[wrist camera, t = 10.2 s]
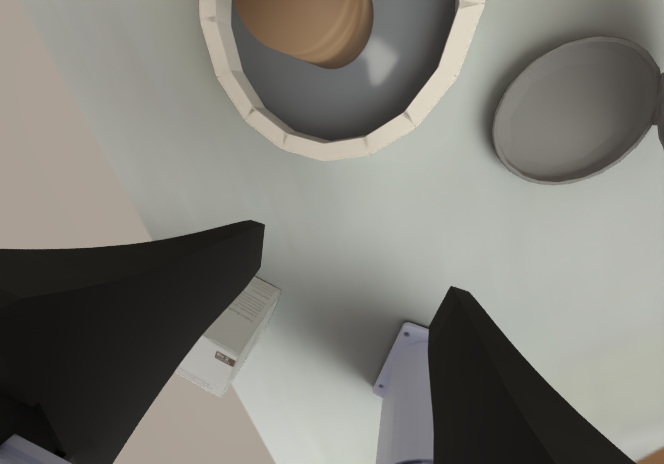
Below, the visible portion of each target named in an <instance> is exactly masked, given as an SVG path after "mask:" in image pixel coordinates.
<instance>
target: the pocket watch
mask: <svg viewBox="0 0 664 464" xmlns="http://www.w3.org/2000/svg"><path fill="white" fill-rule="evenodd" d="M652 125H657V126H658V135H659V139H660V142H661V144H662V146H663V149H664V73H661V74H660V69H659V67H658V66H657V64H656V63H655V61H654V60H653V58H652V57H651V55H650V54H649V52H648V51H646V50H645V49H643V48H642V47H640V46H639V45H637V44H635V43H633V42H630V41H628V40H625V39H622V38H614V37H606V36H598V37H591V38H584V39H578V40H575V41H571V42H568V43H565V44H563V45H562V46H560V47H558V48H556V49H554V50H551V51H549V52H548V53H546V54H544V55H542V56H541V57H539V58H537V59H535V60H534V61H533V62H532V63H531V64H529V65H528V66H527V67H526V68H525V69H524V70H523V71H522V72H521V73H520V74H519V75H518V76H517V77H516V78H515V79H514V80H513V81H512V82H511V84H510V85H509V86H508V88H507V90H506V92H505V93H504V95H503V96H502V98H501V100H500V102H499V104H498V107H497V109H496V111H495V116H494V121H493V129H492V138H493V143H494V147H495V150H496V154H497V156H498V157H499V159H500V160H501V162H502V163H503V164H504V165H505V166H506V167H507V169H508V170H509V171H510V172H512V173H513V174H515V175H517V176H518V177H520V178H522V179H524V180H526V181H529V182H533V183H537V184H544V185H561V184H570V183H575V182H578V181H581V180H585V179H588V178H591V177H593V176H596V175H598V174H601V173H602V172H604V171H606V170H607V169H609V168H611V167H612V166H614V165H616V164H617V163H619V162H620V161H621V160H622V159H624V158H625V157H626V156H627V155H628V154H629V153H630V152H631V151H633V150H634V149H635V148H636V147H637V146H638V145H639V143H640V142H641V141H642V139H643V138H644V136H645V135H646V134H647V132H648V131H649V129H650V128H651V126H652Z"/></svg>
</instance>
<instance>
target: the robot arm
mask: <svg viewBox="0 0 664 464" xmlns="http://www.w3.org/2000/svg"><path fill="white" fill-rule="evenodd" d="M264 229H265V224H262V223H259V222H255V221H252V220H247V221H242V222H238V223H233V224H229V225H225V226H221V227H218V228H214V229H210V230H206V231H202V232H197V233H193V234H188V235H183V236H179V237H174V238H169V239H164V240H158V241H151V242H144V243H137V244H129V245H117V246H106V247H94V248H75V249H26V250H25V249H0V464H113V462H114V460H115V459H116V457H117V456H118V454H119V453H120V451H121V450H122V448H123V447H124V445H125V443H126V442H127V440H128V439H129V437H130V436H131V434H132V433H133V431H134V430H135V428H136V426H137V425H138V423H139V422H140V420H141V419H142V417H143V416H144V414H145V413H146V411H147V410H148V409H149V407H150V406H151V404H152V403H153V401H154V400H155V398H156V397H157V396H158V394H159V392H160V391H161V390H162V388H163V387H164V385H165V384H166V383H167V381H168V380H169V378H170V377H171V376H172V374H173V373H174V372H175V370H176V369H177V368H178V366H179V365H180V363H181V362H182V361H183V359H184V358H185V357H186V355H187V354H188V353H189V351H190V350H191V349H192V348H193V346H194V345H195V344H196V342H197V341H198V340H199V338H200V337H201V336H202V335H203V334H204V333H205V331H206V330H207V329H208V328H209V327H210V326H211V325H212V324H213V323H214V322H215V320H216V319H217V318H218V317H219V316H220V315H221V314H222V313H223V312H224V311H225V310H226V309H227V308H228V307H229V305H230V304H231V303H232V302H233V301H234V300H235V299H236V298H237V297H238V296H239V295H240V294H241V292H242V291H243V290H244V289H245V288H246V287H247V286H248V284H249V283H250V282H251V280H252V279H253V277H254V276H255V274H256V273H257V271H258V270H259V268H260V267H261V258H262V248H263V238H264ZM405 332H408V334H406V333H405ZM373 393H374V394H375V395H377V396H379V397H382V398H383V399H382V409H381V418H380V428H379V437H378V447H377V456H376V464H636V463H635V462H634V461H632V460H631V459H630V458H629V457H628V456H627V455H625V454H624V453H623V452H622V451H621V450H620V449H618V448H617V447H616V446H615V445H614V444H613V443H612V442H610V441H609V440H608V439H607V438H606V437H605V436H604V435H603V434H601V433H600V432H599V431H598V430H597V429H596V428H595V427H593V426H592V425H591V424H590V423H589V422H588V421H587V420H586V419H585V418H584V417H582V416H581V415H580V414H579V413H578V412H577V411H576V410H575V409H574V408H573V407H572V406H571V405H570V404H569V403H568V402H567V401H566V400H565V399H564V398H563V397H562V396H561V395H560V394H559V393H558V392H557V391H555V390H554V389H553V388H552V387H551V386H550V385H549V384H548V383H547V382H546V381H545V379H544V378H543V377H542V376H541V375H540V374H539V373H538V372H537V371H536V370H535V369H534V368H533V367H532V366H531V365H530V363H529V362H528V361H527V360H526V359H525V358H524V357H523V356H522V355H521V353H520V352H519V351H518V350H517V349H516V348H515V347H514V345H513V344H512V343H511V342H510V341H509V340H508V338H507V337H506V336H505V335H504V334H503V332H502V331H501V330H500V329H499V328H498V326H497V325H496V324H495V323H494V321H493V320H492V319H491V318H490V316H489V315H488V314H487V313H486V311H485V310H484V309H483V308H482V306H481V305H480V304H479V303H478V302H477V300H476V299H475V298H474V297H473V296H472V295H471V294H470V293H469V292H468V291H465V290H462V289H459V288H456V287H453V286H450V288H449V290H448V292H447V294H446V296H445V298H444V300H443V301H442V303H441V305H440V307H439V309H438V311H437V313H436V314H435V316H434V318H433V320H432V322H431V324H430V326H429V329H427V328H424V327H421V326H418V325H415V324H412V323H409V322H408V323H404V324H403V326H402V328H401V330H400V332H399V334H398V336H397V338H396V340H395V343H394V345H393V347H392V349H391V351H390V353H389V355H388V357H387V360H386V362H385V364H384V366H383V368H382V370H381V372H380V375H379V377H378V379H377V381H376V383H375V385H374V388H373Z"/></svg>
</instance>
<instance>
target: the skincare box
mask: <svg viewBox="0 0 664 464" xmlns="http://www.w3.org/2000/svg"><path fill="white" fill-rule="evenodd" d="M280 294H281V290H279V289H278V288H276V287H274V286H272V285H270V284H268V283H266V282H264V281H262V280H260V279H258V278H256V277H253V279H252V280H251V282H250V283H249V284H248V286H247V287H246V288H245V289H244V290H243V291H242V292H241V294H240V295H239V296H238V297H237V298H236V299H235V300H234V301H233V302H232V303H231V304H230V305H229V307H228V308H227V309H226V310H225V311H224V312H223V313H222V314H221V315H220V316H219V317H218V318H217V319H216V320H215V322H214V323H213V324H212V325H211V326H210V327H209V328H208V329H207V330H206V331H205V333H204V334H203V335H202V336H201V337H200V338H199V340H198V341H197V342H196V344H195V345H194V346H193V348H192V349H191V350H190V351H189V353H188V354H187V355H186V357H185V358H184V359H183V361H182V362H181V363H180V365H179V366H178V368H177V369H176V370H175V373H177V374H179V375H181V376H182V377H184V378H186V379H188V380H189V381H191V382H193V383H194V384H196V385H198V386H200V387H202V388H203V389H205V390H207V391H208V392H210V393H212V394H213V395H215V396H217V397H219V398H221V397H222V396H223V395H224V393H225V391H226V390H227V389H228V387H229V385H230V384H231V382H232V381H233V379H234V378H235V376H236V375H237V373H238V371H239V370H240V368H241V367H242V365H243V364H244V362H245V360H246V359H247V357H248V356H249V354H250V353H251V351H252V349H253V348H254V346H255V345H256V343H257V342H258V340H259V339H260V337H261V336H262V334H263V332H264V331H265V328H266V326H267V324H268V322H269V319H270V317H271V315H272V312H273V310H274V308H275V305H276V303H277V301H278V298H279V296H280Z"/></svg>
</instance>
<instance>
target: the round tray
mask: <svg viewBox="0 0 664 464" xmlns="http://www.w3.org/2000/svg"><path fill="white" fill-rule="evenodd" d="M372 2H373V9H374V19H373V27H372V32H371V35H370V38H369V40H368V43H367V45H366V46H365V48H364V50H363V51H362V53H361V54H360V55H359V56H358V57H357V58H356V59H355V60H354V61H353V62H351V63H350V64H348V65H346V66H344V67H342V68H338V69H324V68H321V67H318V66H316V65H313V64H311V63H308V62H305V61H303V60H300V59H298V58H295V57H292V56H290V55H287V54H285V53H282V52H280V51H277V50H274V49H272V48H270V47H268V46H266V45H264V44H263V43H261V42H260V41H258V40H257V39H256V38H255V37H254V36H253V35H252V34H251V33H250V32H249V30H248V29H247V28H246V26H245V25H244V23H243V22H242V20H241V18H240V16H239V14H238V12H237V9H236V7H235V4H234V1H233V0H199V19H201V21H200V23H201V27H202V30H203V33H204V37H205V40H206V44H207V47H208V50H209V54H210V57H211V61H212V64H213V67H214V71H215V74H216V77H217V79H218V81H219V82H220V84H221V85H222V87H223V88H224V90H225V91H226V93H227V94H228V96H229V97H230V99H231V101H232V102H233V104H234V105H235V107H236V108H237V110H238V111H239V113H240V114H241V116H242V117H243V119H244V120H246V121H245V122H247V123H248V124H249V125H251V126H252V127H253V128H254V129H256V130H257V131H258V132H260V133H261V134H262V135H263V136H265V137H266V138H267V139H269V140H270V141H271V142H272V143H274V144H275V145H276V146H278V147H279V148H280V149H282V150H285V151H289V152H292V153H296V154H299V155H303V156H306V157H310V158H313V159H317V160H320V161H331V160H338V159H346V158H353V157H360V156H367V155H370V154H373V153H375V152H376V151H378V150H380V149H381V148H383V147H385V146H386V145H388V144H390V143H391V142H393V141H395V140H397V139H398V138H400V137H402V136H403V135H405V134H407V133H408V132H410V131H412V130H413V129H415V128H416V127H417V126H418V125H419V124H420V123H421V121H422V120H423V119H424V118H425V117H426V115H427V114H428V113H429V112H430V110H431V109H432V108H433V107H434V105H435V104H436V103H437V102H438V101H439V99H440V98H441V97H442V96H443V94H444V93H445V92H446V91H447V89H448V88H449V87H450V86H451V85H452V83H453V82H454V81H455V80H456V78H457V76H458V75H459V72H460V69H461V67H462V64H463V61H464V59H465V56H466V53H467V51H468V48H469V45H470V43H471V40H472V37H473V35H474V32H475V29H476V27H477V24H478V21H479V19H480V16H481V13H482V11H483V8H484V5H485V4H484V3H485V0H372Z"/></svg>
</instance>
